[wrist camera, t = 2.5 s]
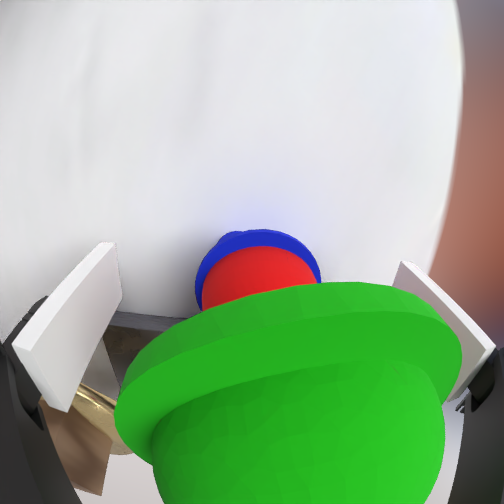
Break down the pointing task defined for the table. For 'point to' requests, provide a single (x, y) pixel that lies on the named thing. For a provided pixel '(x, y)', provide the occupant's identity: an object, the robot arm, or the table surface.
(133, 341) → the balance
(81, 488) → the walnut block
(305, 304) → the toy
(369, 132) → the table surface
